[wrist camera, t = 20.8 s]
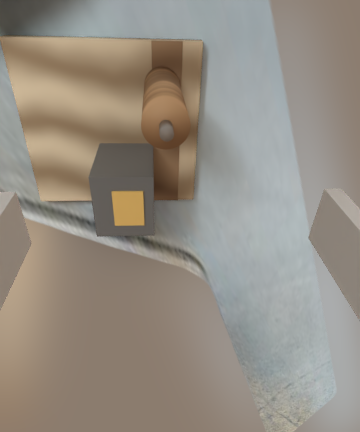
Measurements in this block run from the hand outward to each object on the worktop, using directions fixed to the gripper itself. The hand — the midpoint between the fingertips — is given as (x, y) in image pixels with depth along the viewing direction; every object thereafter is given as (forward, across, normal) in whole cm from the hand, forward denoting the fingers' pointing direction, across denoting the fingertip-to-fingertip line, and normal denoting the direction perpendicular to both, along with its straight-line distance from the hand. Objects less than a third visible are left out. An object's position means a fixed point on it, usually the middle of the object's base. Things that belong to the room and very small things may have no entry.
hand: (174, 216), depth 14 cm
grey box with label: (+24, -4, -10) cm, 26 cm away
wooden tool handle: (+23, 0, 0) cm, 23 cm away
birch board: (+25, -6, -5) cm, 26 cm away
